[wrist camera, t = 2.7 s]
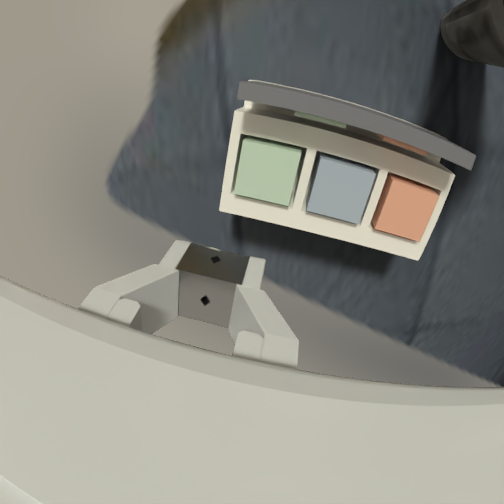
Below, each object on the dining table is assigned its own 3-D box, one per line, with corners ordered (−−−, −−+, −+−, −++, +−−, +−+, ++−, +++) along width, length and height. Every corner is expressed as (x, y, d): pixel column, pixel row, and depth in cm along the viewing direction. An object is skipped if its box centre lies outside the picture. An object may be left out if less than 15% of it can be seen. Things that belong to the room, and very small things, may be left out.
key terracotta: (429, 185, 19) (439, 196, 17) (412, 228, 21) (419, 241, 19) (385, 170, 19) (393, 179, 18) (369, 216, 21) (374, 228, 20)
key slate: (369, 165, 19) (376, 174, 18) (354, 211, 21) (358, 224, 20) (319, 151, 19) (320, 158, 18) (306, 199, 21) (306, 210, 20)
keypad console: (434, 132, 20) (482, 158, 14) (401, 227, 25) (427, 280, 19) (254, 79, 21) (230, 80, 14) (235, 184, 26) (208, 227, 19)
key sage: (301, 146, 20) (301, 153, 18) (289, 195, 22) (288, 206, 20) (248, 134, 20) (242, 140, 18) (240, 183, 22) (233, 193, 20)
